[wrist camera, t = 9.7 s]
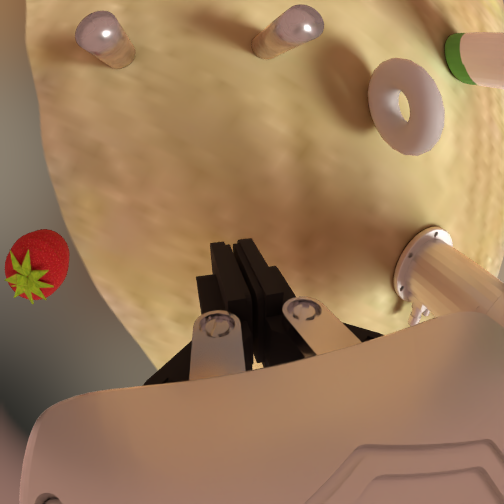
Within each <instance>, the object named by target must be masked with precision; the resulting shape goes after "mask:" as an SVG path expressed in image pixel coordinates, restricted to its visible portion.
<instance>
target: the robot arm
mask: <svg viewBox="0 0 504 504" xmlns="http://www.w3.org/2000/svg"><path fill="white" fill-rule="evenodd" d="M210 249H211V260H212V271H213V275H205V276H198V277H196V280H197V288H198V295H199V302H200V308H201V314H202V315H201V316H199V317H198V318H197V319H196V321H195V323H194V326H193V337H192V341H191V342H190V343H189V344H187V345H186V346H185V347H184V348H183V349H182V350H181V351H180V352H179V353H177V354H176V355H175V356H174V357H173V358H172V359H171V360H170V361H168V362H167V363H166V364H165V365H164V366H163V367H162V368H161V369H159V370H158V371H157V372H156V373H155V374H154V375H153V376H151V377H150V378H149V379H148V380H147V381H146V382H145V383H144V385H143V386H138V387H128V388H118V389H108V390H102V391H95V392H90V393H86V394H82V395H77V396H74V397H72V398H69V399H66V400H63V401H61V402H59V403H56V404H55V405H53V406H51V407H49V408H48V409H46V410H45V411H44V412H43V413H42V414H41V415H40V417H39V418H38V419H37V421H36V423H35V424H34V427H33V429H32V431H31V434H30V437H29V440H28V443H27V447H26V451H25V456H24V462H23V467H22V475H21V483H20V497H19V499H20V500H19V504H504V283H503V282H501V281H500V280H499V279H497V278H496V277H495V276H493V275H492V274H491V273H489V272H488V271H487V270H485V269H484V268H482V267H481V266H480V265H478V264H477V263H475V262H474V261H473V260H471V259H470V258H468V257H467V256H465V255H464V254H462V253H461V252H459V251H458V250H456V249H455V248H453V243H452V239H451V237H450V235H449V233H448V232H447V231H445V230H444V229H442V228H440V227H430V228H427V229H425V230H423V231H421V232H420V233H419V234H418V235H416V236H415V237H414V238H413V239H412V240H411V241H410V242H409V244H408V245H407V246H406V248H405V249H404V251H403V253H402V254H401V256H400V258H399V261H398V263H397V266H396V269H395V274H394V288H395V291H396V293H397V294H398V295H399V296H400V297H401V298H402V299H403V300H405V301H408V302H413V303H412V308H413V310H412V312H411V314H410V317H409V320H408V324H409V325H410V327H408V328H405V329H402V330H399V331H396V332H393V333H390V334H387V335H382V334H380V333H377V332H373V331H370V330H366V329H363V328H359V327H356V326H353V325H349V324H346V323H342V322H341V321H340V320H339V319H338V318H337V317H336V316H335V315H334V314H333V313H332V312H331V311H330V310H329V309H328V308H327V307H326V306H325V305H324V304H323V303H321V302H320V301H319V300H316V299H314V298H310V297H296V296H295V294H294V293H293V291H292V290H291V288H290V287H289V285H288V283H287V282H286V280H285V279H284V277H283V276H282V274H281V272H280V271H279V269H278V268H277V267H276V266H271V267H268V265H267V263H266V262H265V260H264V258H263V257H262V255H261V253H260V252H259V250H258V248H257V247H256V245H255V243H254V242H253V240H252V239H251V238H250V239H241V240H238V241H237V244H233V252H232V249H231V247H230V245H225V243H224V242H217V243H210ZM430 312H431V313H432V314H433V315H434V316H436V318H433V319H430V320H427V321H424V322H421V323H419V321H420V319H421V314H423V315H424V316H428V315H429V313H430ZM253 353H254V356H255V359H256V362H257V363H261V362H262V364H263V367H264V368H260V369H255V370H252V364H253Z"/></svg>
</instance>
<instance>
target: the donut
mask: <svg viewBox="0 0 504 504" xmlns="http://www.w3.org/2000/svg"><path fill="white" fill-rule="evenodd" d="M401 91H402V92H403V93H404V94H405V96H406V98H407V100H408V103H409V107H410V118H409V121H408V122H407V121H405V119H404V118H403V116H402V114H401V112H400V108H399V100H398V97H399V93H400V92H401ZM368 102H369V108H370V113H371V117H372V119H373V122H374V124H375V127H376V129H377V130H378V132H379V133H380V135H381V137H382V138H383V139H384V140H385V141H386V142H387V143H388V144H389V145H390V146H391V147H392V148H393V149H395V150H396V151H398V152H400V153H402V154H404V155H416V156H418V155H421V154H423V153H425V152H427V151H430V150H431V149H432V148H433V147H434V145H435V144H436V143H437V142H438V140H439V139H440V136H441V133H442V130H443V127H444V106H443V101H442V97H441V94H440V92H439V89H438V87H437V85H436V83H435V81H434V80H433V79H432V77H431V76H430V75H429V74H428V73H427V72H426V71H425V69H423V68H422V67H421V66H419V65H417V64H416V63H414V62H412V61H411V60H407V59H400V58H392V59H389V60H387V61H384V62H382V63H381V64H380V65H379V66H378V67H377V68H376V69H375V70H374V72H373V75H372V77H371V80H370V82H369V89H368Z"/></svg>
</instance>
